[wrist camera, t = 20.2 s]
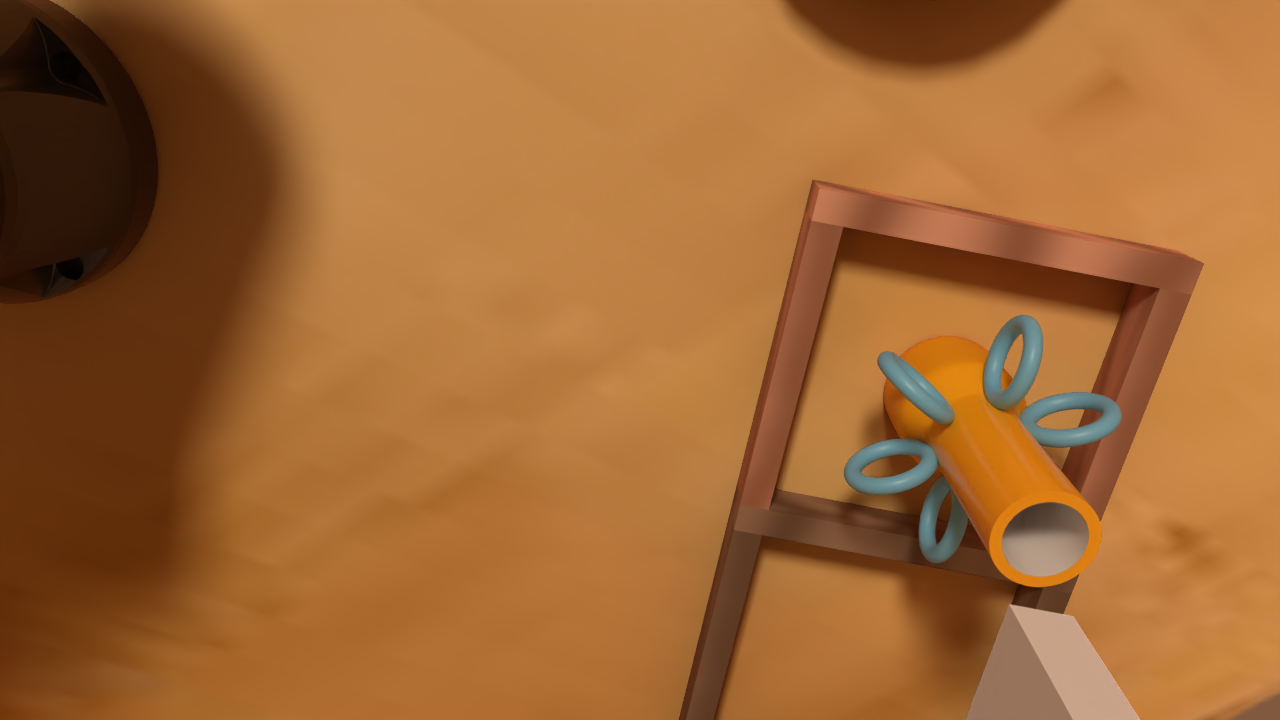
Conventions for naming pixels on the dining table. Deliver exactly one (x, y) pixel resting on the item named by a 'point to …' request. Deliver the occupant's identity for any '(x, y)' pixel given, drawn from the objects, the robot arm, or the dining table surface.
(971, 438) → the orange post with rings
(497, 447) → the dining table surface
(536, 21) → the dining table surface
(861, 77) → the dining table surface
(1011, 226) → the rail frame
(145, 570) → the dining table surface
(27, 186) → the robot arm
